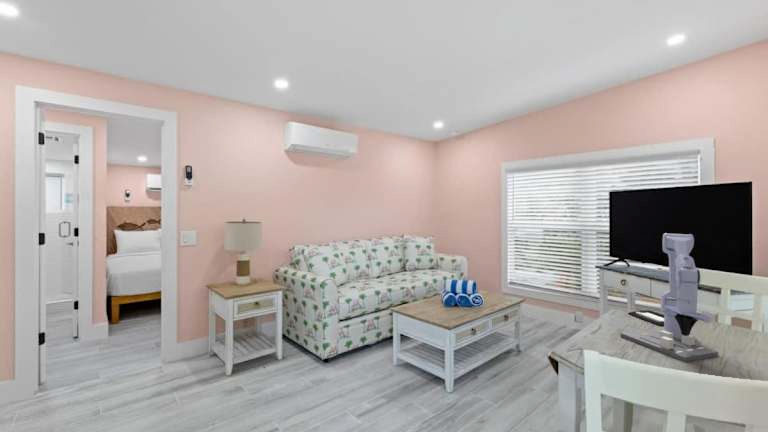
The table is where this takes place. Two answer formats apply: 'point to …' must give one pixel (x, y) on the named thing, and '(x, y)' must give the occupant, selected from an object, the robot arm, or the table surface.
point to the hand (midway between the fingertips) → (685, 335)
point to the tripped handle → (666, 334)
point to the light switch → (649, 317)
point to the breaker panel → (669, 352)
